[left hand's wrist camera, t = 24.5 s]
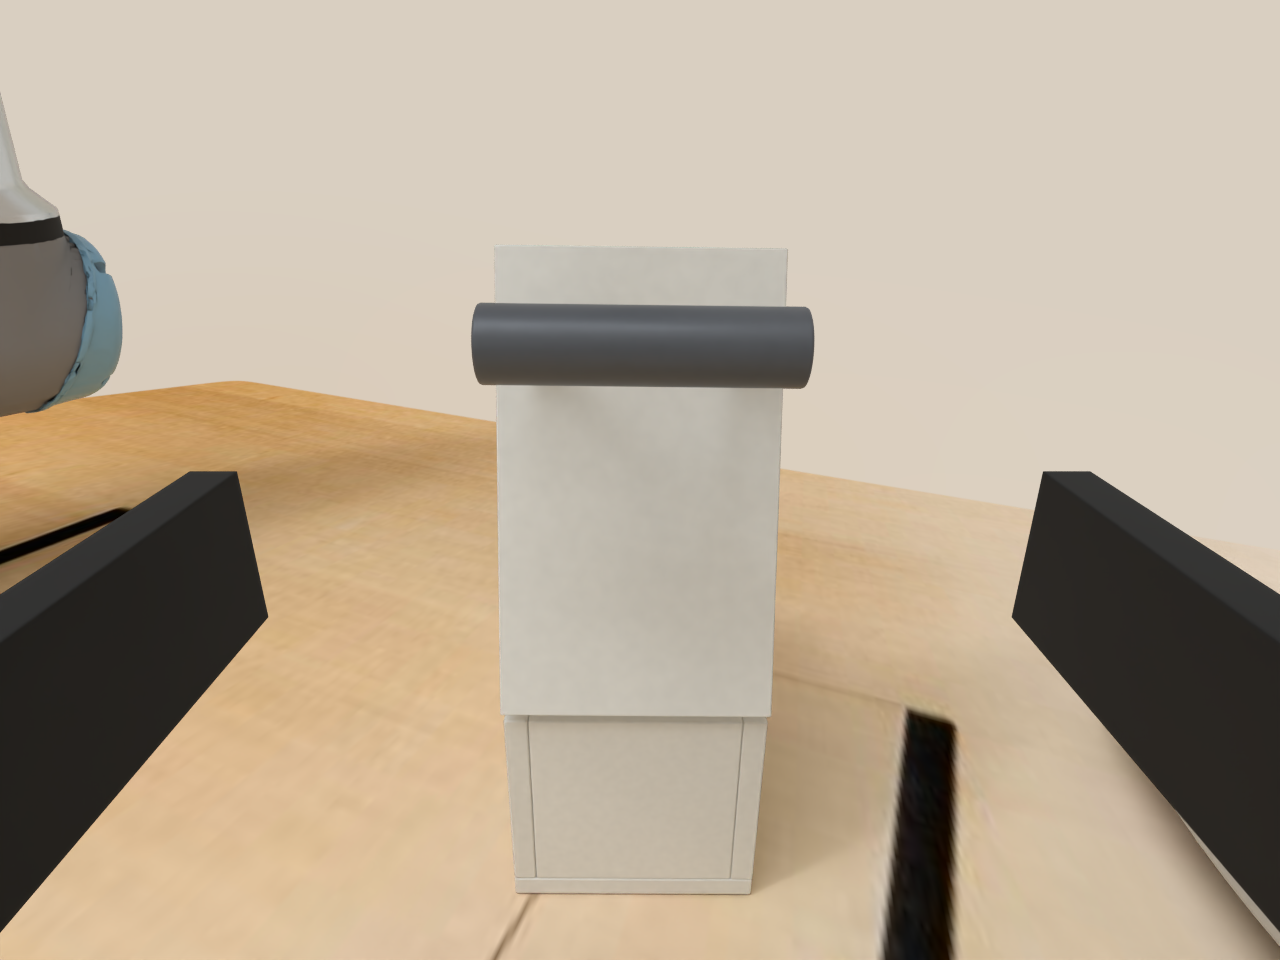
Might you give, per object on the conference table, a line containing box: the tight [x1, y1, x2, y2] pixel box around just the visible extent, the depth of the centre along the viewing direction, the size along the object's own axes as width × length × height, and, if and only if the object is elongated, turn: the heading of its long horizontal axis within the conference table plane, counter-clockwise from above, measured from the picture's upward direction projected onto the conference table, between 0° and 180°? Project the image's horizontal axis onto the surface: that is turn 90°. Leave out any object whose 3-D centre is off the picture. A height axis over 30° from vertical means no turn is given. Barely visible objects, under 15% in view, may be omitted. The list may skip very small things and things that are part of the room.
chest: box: [504, 715, 768, 894], centre depth 35 cm, size 15×9×9 cm, turn 0°
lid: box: [471, 245, 814, 717], centre depth 21 cm, size 16×10×9 cm
